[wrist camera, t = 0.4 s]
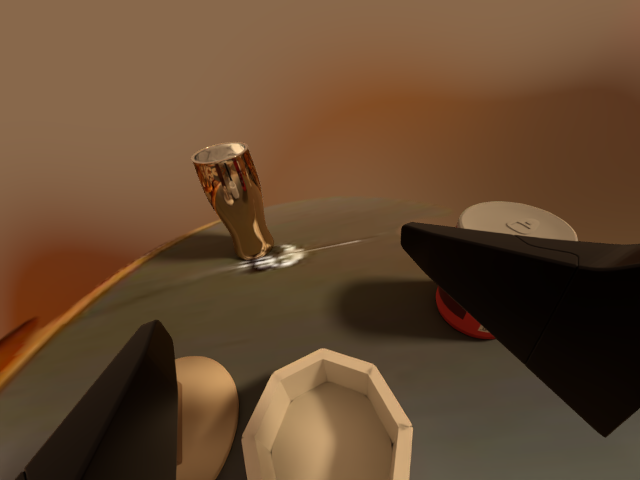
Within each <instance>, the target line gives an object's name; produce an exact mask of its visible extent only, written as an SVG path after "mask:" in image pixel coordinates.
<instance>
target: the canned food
mask: <svg viewBox="0 0 640 480" xmlns="http://www.w3.org/2000/svg"><path fill="white" fill-rule="evenodd" d="M456 228H464V229H472V230H480V231H489V232H497V233H505V234H512V235H521V236H530V237H539V238H548V239H559V240H570V241H578V239H577V235H576V233H575V231H574V230H573V228H572V227H571V226H570V225H568V224H567V223H566V222H565V221H563V220H562V219H561V218H559V217H557V216H555V215H553V214H551V213H550V212H547V211H544V210H542V209H539V208H536V207H533V206H530V205H525V204H520V203H513V202H501V201H497V202H485V203H480V204H476V205H473V206H471V207H469V208H467V209H466V210H464V211H463V213H462V214H461V215H460V219H459V220H458V222H457V226H456ZM436 303H437V307H438V310H439V312H440V314H441V316H442V317H443V318H444V319H445V321H446V322H447V323H448V324H450V325H451V326H452V327H453V328H455V329H456V330H458V331H460V332H462V333H464V334H466V335H468V336H471V337H474V338H480V339H496V338H495V337H494V336H493V335H492V334H491V333H489V332H488V331H487V330H486V329H485V328H484V327H483V326H482V325H481V324H480V323H479V322H478V321H476V320H475V319H474V318H473V317H472V316H471V315H470V314H469V313H468V312H467V311H466V310H464V309H463V308H462V307H461V306H460V305H459V304H458V303H457V302H456V301H455V300H454V299H452V298H451V297H450V296H449V295H448V294H447V293H446V292H445V291H444V290H443V289H442V288H441V287H439V286H438V288H437V291H436Z"/></svg>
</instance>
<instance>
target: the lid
mask: <svg viewBox="0 0 640 480" xmlns="http://www.w3.org/2000/svg"><path fill="white" fill-rule="evenodd" d="M175 365H176V374H177V384H178V429H177V470H176V480H216V478H217V476H218V475H219V473H220V471H221V469H222V467H223V465H224V464H225V461H226V459H227V457H228V455H229V452H230V450H231V447H232V444H233V441H234V438H235V434H236V429H237V424H238V417H239V400H238V393H237V389H236V386H235V383H234V381H233V379H232V377H231V376H230V374H229V373H228V372H227V371H226V369H225V368H224V367H223V366H222V365H220V364H219V363H218V362H216V361H214V360H212V359H210V358H206V357H201V356H189V357H182V358H179V359H175Z"/></svg>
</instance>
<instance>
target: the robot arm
mask: <svg viewBox="0 0 640 480" xmlns="http://www.w3.org/2000/svg"><path fill="white" fill-rule="evenodd" d="M401 246H402V248H403V249H404V250H405V251H406V252H407V253H408V255H409V256H410V257H411V258H412V259H413V260H414V261H415V262H416V264H417V265H418V266H419V267H420V268H421V269H422V270H423V271H424V272H425V273H426V274H427V275H428V276H429V277H430V278H431V279H432V280H433V281H434V282H435V283H436V284H437V285H438V286H439V287H441V288H442V289H443V290H444V291H445V292H446V293H447V294H448V295H449V296H450V297H451V298H452V299H454V300H455V301H456V302H457V303H458V304H459V305H460V306H461V307H462V308H463V309H464V310H466V311H467V312H468V313H469V314H470V315H471V316H472V317H473V318H474V319H475V320H476V321H478V322H479V323H480V324H481V325H482V326H483V327H484V328H485V329H486V330H487V331H488V332H489V333H491V334H492V335H493V336H494V337H495V338H496V339H497V340H498V341H499V342H500V343H501V344H503V345H504V346H505V347H506V348H507V349H508V350H509V351H510V352H511V353H512V354H513V355H514V356H516V357H517V358H518V359H519V360H520V361H521V362H522V363H523V364H525V366H526V367H527V368H528V369H529V370H531V371H532V372H533V373H534V374H535V375H536V376H537V377H538V378H539V379H540V380H541V381H542V382H544V383H545V384H546V385H547V386H548V387H549V388H550V389H551V390H552V391H553V392H554V393H555V394H557V395H558V396H559V397H560V398H561V399H562V400H563V401H564V402H565V403H566V404H567V405H569V406H570V407H571V408H572V409H573V410H574V411H575V412H576V413H577V414H578V415H579V416H580V417H582V418H583V419H584V420H585V421H586V422H587V423H588V424H589V425H590V426H591V427H592V428H593V429H595V430H596V431H597V432H598V433H599V434H601V435H602V436H603V437H605V438H606V437H607V436H608V435H609V434H611V433H612V432H613V431H614V430H615V429H616V428H617V427H619V426H620V425H621V424H622V423H623V422H624V421H626V420H627V419H628V418H629V417H630V416H631V415H632V414H634V413H635V412H636V411H637V410H638V409H639V408H640V244H631V245H620V244H605V243H592V242H581V241H570V240H559V239H548V238H539V237H530V236H521V235H512V234H505V233H497V232H489V231H480V230H472V229H464V228H455V227H448V226H439V225H432V224H424V223H415V222H410V223H407V224H405V225H403V226H402V228H401ZM177 429H178V384H177V374H176V365H175V355H174V346H173V341H172V338H171V336H170V335H169V333H168V332H167V330H166V329H165V328H164V326H163V325H162V323H161V322H160V321H159V320H154V321H151V322H148V323H146V324H143V325H142V326H140V328H139V329H138V330H137V331H136V332H135V334H134V335H133V336H132V337H131V339H130V340H129V341H128V342H127V343H126V345H125V346H124V347H123V348H122V350H121V351H120V352H119V353H118V354H117V356H116V357H115V358H114V359H113V360H112V362H111V363H110V364H109V365H108V367H107V368H106V369H105V370H104V371H103V373H102V374H101V375H100V376H99V378H98V379H97V380H96V381H95V382H94V384H93V385H92V386H91V387H90V389H89V390H88V391H87V392H86V393H85V395H84V396H83V397H82V398H81V400H80V401H79V402H78V403H77V404H76V406H75V407H74V408H73V409H72V411H71V412H70V413H69V414H68V415H67V417H66V418H65V419H64V420H63V422H62V423H61V424H60V425H59V426H58V428H57V429H56V430H55V431H54V433H53V434H52V435H51V436H50V437H49V439H48V440H47V441H46V442H45V444H44V445H43V446H42V447H41V448H40V450H39V451H38V452H37V453H36V455H35V456H34V457H33V458H32V459H31V461H30V462H29V463H28V464H27V465H26V467H25V469H24V471H25V472H21V473H20V474H19V475H18V476H17V478H16V479H15V480H176V470H177Z"/></svg>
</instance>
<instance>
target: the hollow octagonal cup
mask: <svg viewBox="0 0 640 480" xmlns="http://www.w3.org/2000/svg"><path fill="white" fill-rule="evenodd" d="M412 433H413V428H412V424H411V422H410V421H409V419H408V418H407V416H406V414H405V413H404V411H403V409H402V408H401V406H400V405H399V403H398V401H397V400H396V398H395V397H394V395H393V393H392V392H391V390H390V389H389V387H388V385H387V384H386V382H385V380H384V379H383V377H382V376H381V374H380V372H379V371H378V369H377V368H376V366H374V364H371V363H368V362H365V361H362V360H359V359H356V358H352V357H349V356H346V355H343V354H340V353H337V352H334V351H331V350H327V349H324V348H323V350H322V348H321V349H319V350H317V351H315V352H313V353H311V354H309V355H307V356H305V357H303V358H301V359H299V360H297V361H295V362H293V363H291V364H289V365H287V366H285V367H283V368H281V369H279V370H277V371H275V372H274V374H272V375H271V377H270V379H269V381H268V383H267V385H266V387H265V390H264V392H263V394H262V396H261V398H260V400H259V402H258V404H257V406H256V408H255V410H254V412H253V414H252V416H251V418H250V420H249V422H248V425H247V427H246V429H245V431H244V433H243V435H242V437H243V438H242V439H241V441H242V448H243V454H244V461H245V467H246V474H247V480H409V472H410V459H411V446H412ZM391 445H392V446H391Z"/></svg>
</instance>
